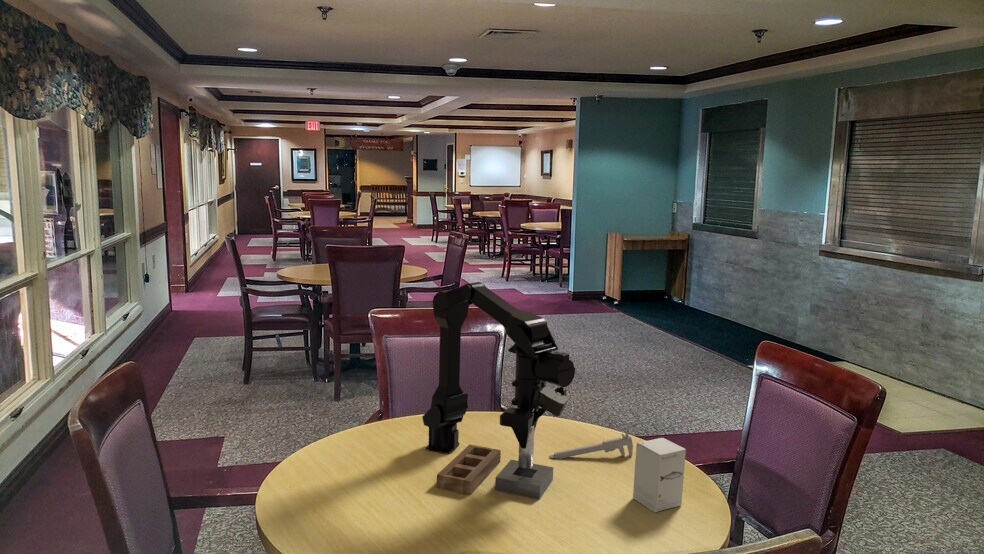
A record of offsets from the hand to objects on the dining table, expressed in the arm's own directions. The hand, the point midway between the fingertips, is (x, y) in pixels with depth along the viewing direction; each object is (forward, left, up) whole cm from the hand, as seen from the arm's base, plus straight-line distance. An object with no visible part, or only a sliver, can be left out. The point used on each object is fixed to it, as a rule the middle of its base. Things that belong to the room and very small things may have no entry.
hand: (526, 445), depth 148 cm
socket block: (0, 0, -9) cm, 9 cm away
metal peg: (0, 0, -5) cm, 5 cm away
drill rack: (-13, 0, -9) cm, 16 cm away
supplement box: (+28, +4, -10) cm, 30 cm away
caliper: (+10, +21, -10) cm, 25 cm away
